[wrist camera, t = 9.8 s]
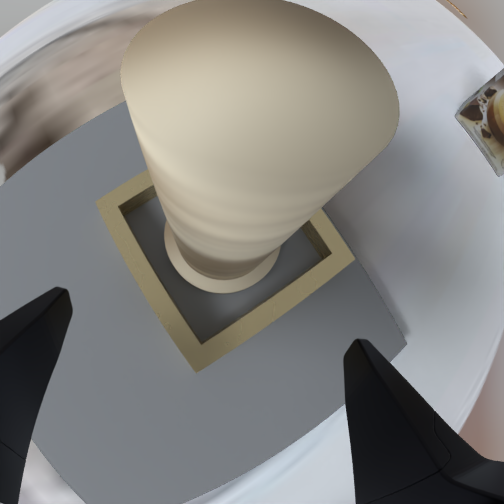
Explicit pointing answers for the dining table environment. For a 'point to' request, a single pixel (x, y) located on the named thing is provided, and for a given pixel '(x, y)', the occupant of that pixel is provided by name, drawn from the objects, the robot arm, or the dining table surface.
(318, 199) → the disc
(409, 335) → the dining table surface
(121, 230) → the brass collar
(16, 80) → the dining table surface
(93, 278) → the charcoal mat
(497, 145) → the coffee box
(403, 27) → the dining table surface
